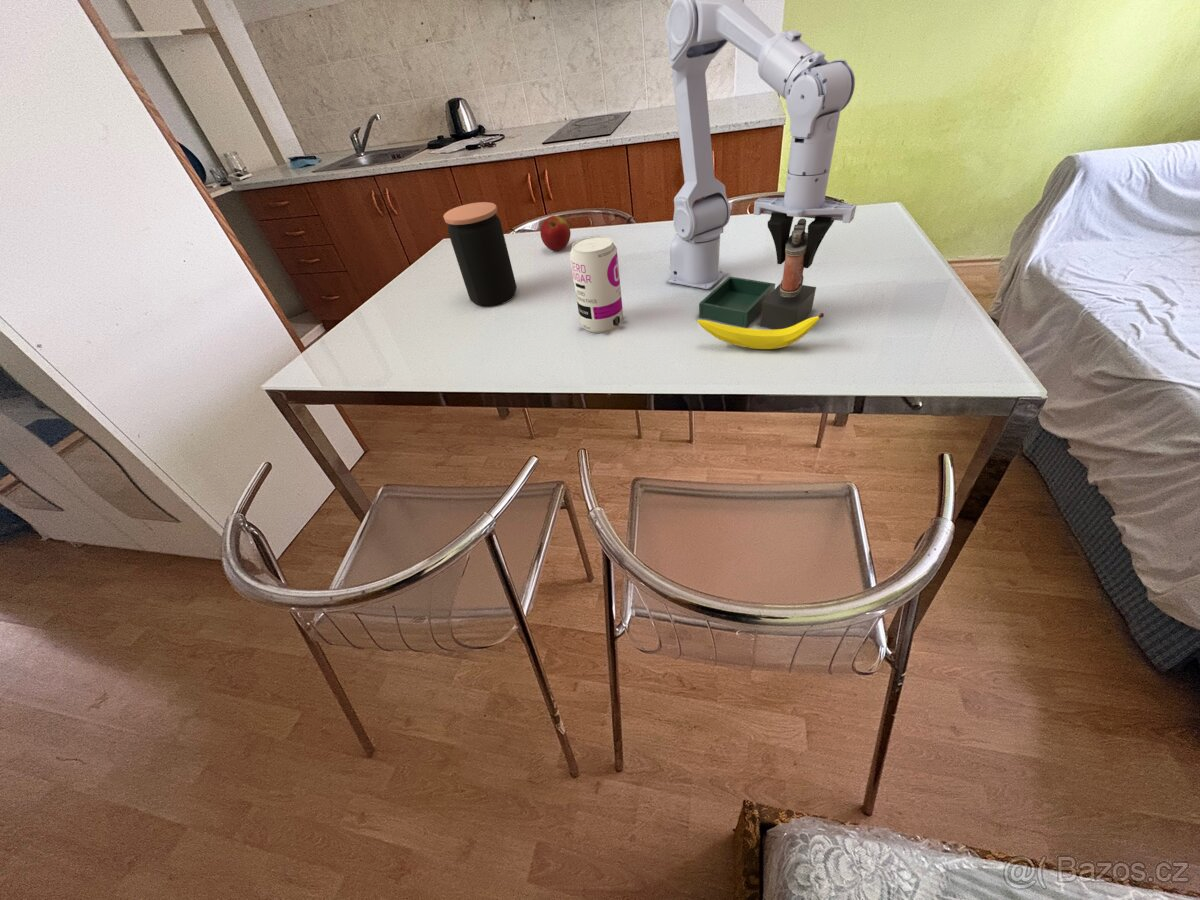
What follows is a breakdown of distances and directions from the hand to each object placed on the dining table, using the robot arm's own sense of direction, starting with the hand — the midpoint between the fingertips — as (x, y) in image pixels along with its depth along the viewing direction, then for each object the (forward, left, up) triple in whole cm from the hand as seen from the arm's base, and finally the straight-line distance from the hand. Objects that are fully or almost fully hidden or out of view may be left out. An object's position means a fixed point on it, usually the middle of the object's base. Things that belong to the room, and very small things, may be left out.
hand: (794, 263), depth 79 cm
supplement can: (-29, -15, -10) cm, 35 cm away
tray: (-9, 0, -10) cm, 14 cm away
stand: (0, 0, -10) cm, 10 cm away
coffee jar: (-59, -15, -10) cm, 62 cm away
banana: (-1, -11, -10) cm, 15 cm away
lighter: (0, 0, -4) cm, 4 cm away
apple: (-63, +12, -10) cm, 65 cm away
